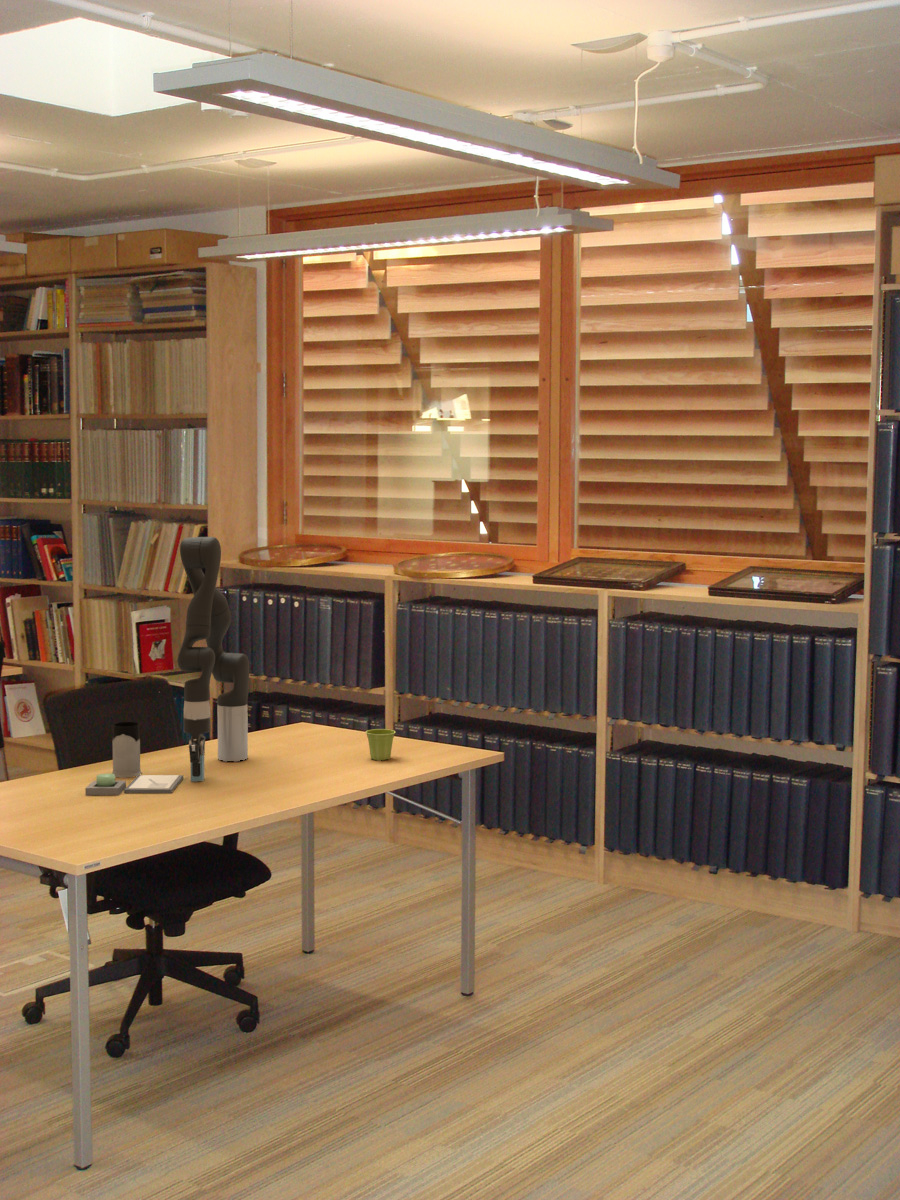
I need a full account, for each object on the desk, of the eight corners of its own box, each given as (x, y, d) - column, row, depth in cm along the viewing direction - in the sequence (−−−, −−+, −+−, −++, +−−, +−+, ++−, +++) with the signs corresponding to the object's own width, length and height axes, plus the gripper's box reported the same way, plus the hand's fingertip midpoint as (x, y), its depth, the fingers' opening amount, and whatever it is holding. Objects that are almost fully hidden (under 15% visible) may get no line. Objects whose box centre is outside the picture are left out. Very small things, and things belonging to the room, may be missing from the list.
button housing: (93, 787, 361) (93, 780, 361) (125, 787, 361) (125, 780, 361) (85, 795, 352) (85, 788, 352) (118, 795, 352) (118, 788, 352)
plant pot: (367, 755, 407) (367, 728, 406) (396, 755, 407) (396, 728, 406) (364, 761, 398) (364, 734, 397) (394, 762, 397) (394, 734, 397)
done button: (99, 782, 359) (98, 773, 359) (117, 782, 359) (116, 773, 359) (94, 786, 354) (94, 777, 354) (112, 786, 354) (112, 777, 354)
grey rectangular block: (192, 778, 373) (192, 748, 372) (204, 778, 373) (204, 748, 372) (190, 781, 369) (190, 750, 368) (202, 781, 369) (202, 750, 369)
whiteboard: (138, 778, 373) (138, 774, 372) (183, 778, 373) (183, 774, 373) (124, 793, 355) (124, 788, 355) (171, 793, 355) (171, 788, 355)
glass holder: (108, 777, 373) (107, 726, 372) (119, 767, 387) (119, 718, 386) (138, 777, 373) (137, 727, 372) (148, 767, 388) (148, 718, 386)
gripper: (188, 711, 376) (188, 769, 378) (179, 720, 362) (180, 780, 364) (213, 711, 377) (214, 769, 378) (206, 720, 362) (206, 780, 364)
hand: (197, 774), depth 371 cm, fingers closed on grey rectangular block, 3 cm apart
